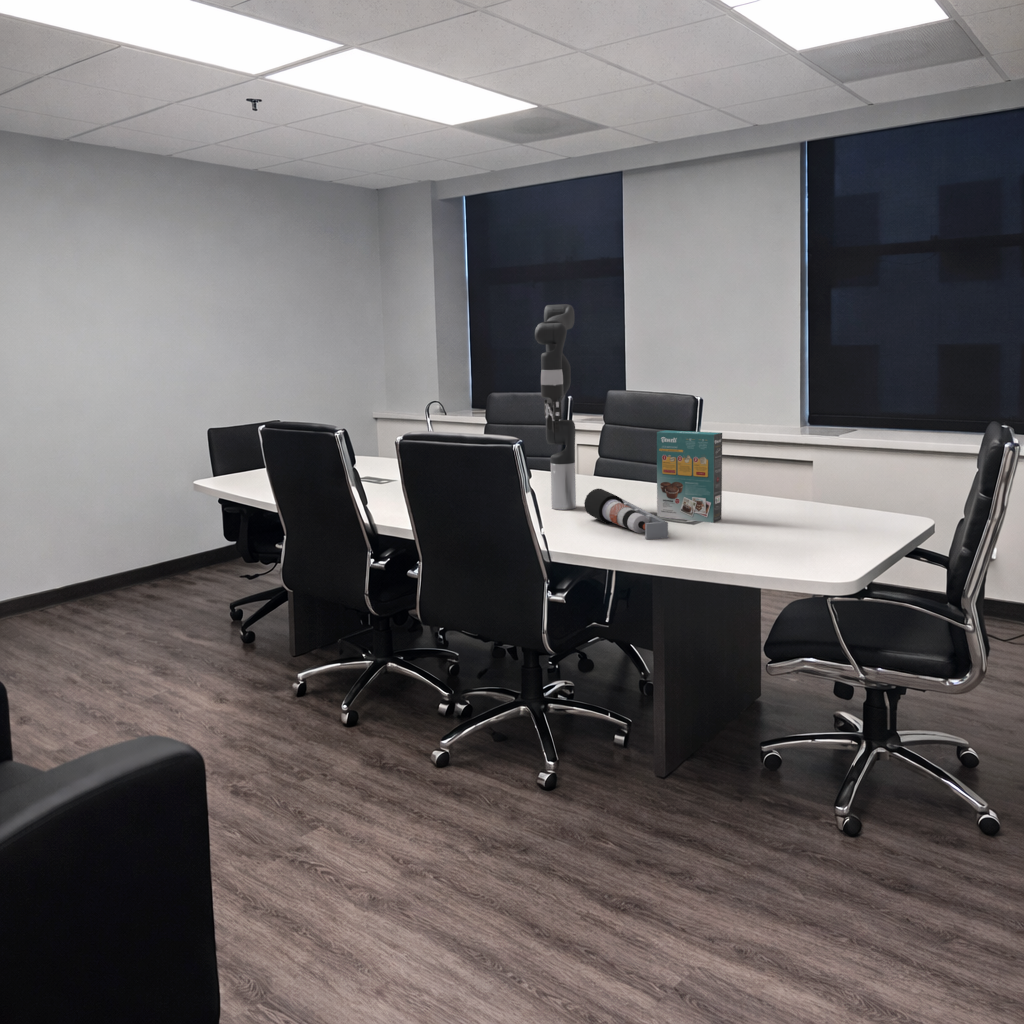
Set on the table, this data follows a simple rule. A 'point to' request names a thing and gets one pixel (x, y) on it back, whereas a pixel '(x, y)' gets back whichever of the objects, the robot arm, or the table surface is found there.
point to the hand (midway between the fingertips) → (553, 431)
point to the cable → (614, 511)
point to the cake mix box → (689, 475)
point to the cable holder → (651, 523)
